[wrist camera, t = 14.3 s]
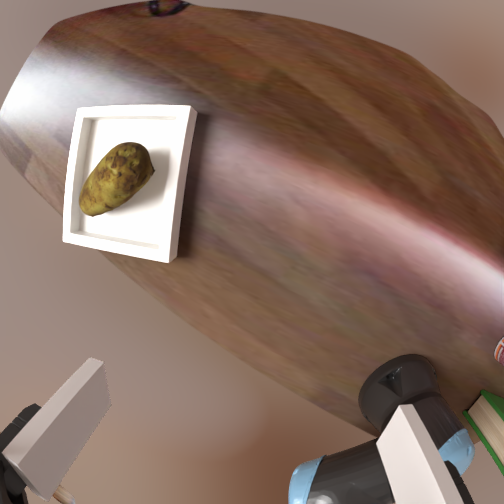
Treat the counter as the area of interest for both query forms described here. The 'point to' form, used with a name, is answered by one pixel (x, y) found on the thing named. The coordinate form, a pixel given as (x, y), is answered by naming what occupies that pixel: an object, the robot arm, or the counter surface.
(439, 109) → the counter surface
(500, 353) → the pill bottle
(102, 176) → the potato
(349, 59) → the counter surface
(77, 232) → the tray
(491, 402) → the hardback book
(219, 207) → the counter surface
